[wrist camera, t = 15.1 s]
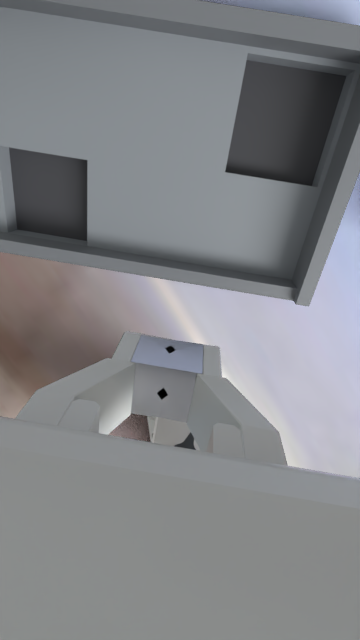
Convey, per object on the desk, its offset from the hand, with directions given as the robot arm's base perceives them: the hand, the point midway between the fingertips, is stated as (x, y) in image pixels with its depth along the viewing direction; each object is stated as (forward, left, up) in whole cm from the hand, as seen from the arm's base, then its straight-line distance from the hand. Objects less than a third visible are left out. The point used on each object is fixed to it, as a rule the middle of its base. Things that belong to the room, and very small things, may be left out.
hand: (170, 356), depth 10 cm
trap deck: (+5, +13, -31) cm, 34 cm away
